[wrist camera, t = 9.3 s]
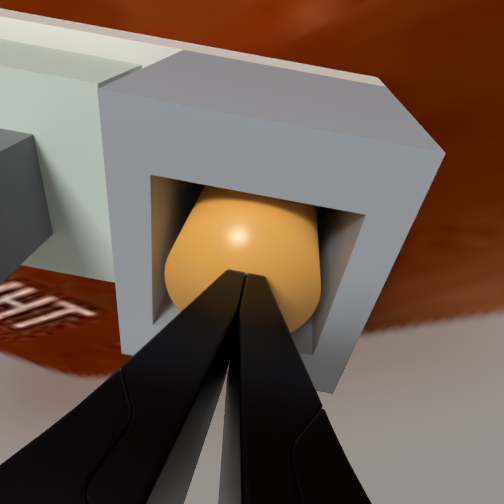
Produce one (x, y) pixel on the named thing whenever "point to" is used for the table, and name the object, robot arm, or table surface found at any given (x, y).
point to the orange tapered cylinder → (249, 249)
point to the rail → (248, 168)
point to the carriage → (54, 161)
